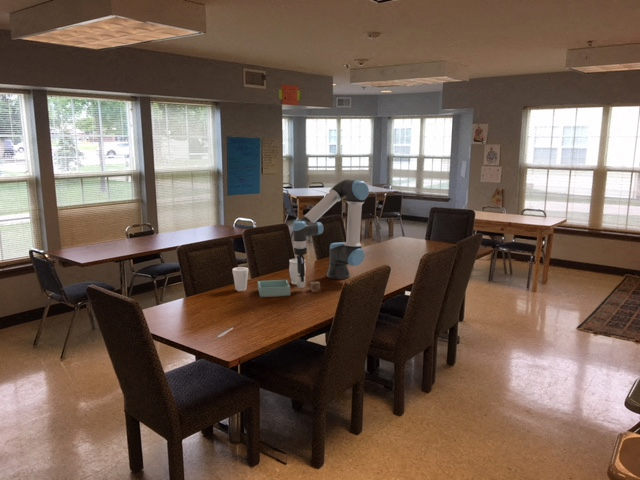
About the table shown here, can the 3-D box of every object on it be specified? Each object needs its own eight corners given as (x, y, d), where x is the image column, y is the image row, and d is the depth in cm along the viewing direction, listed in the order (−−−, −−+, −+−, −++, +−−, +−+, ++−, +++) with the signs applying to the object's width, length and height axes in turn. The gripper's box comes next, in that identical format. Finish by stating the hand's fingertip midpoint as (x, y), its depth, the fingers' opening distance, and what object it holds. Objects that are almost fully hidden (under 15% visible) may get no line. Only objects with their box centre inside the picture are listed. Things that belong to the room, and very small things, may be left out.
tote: (287, 288, 312) (286, 279, 311) (290, 295, 297) (290, 286, 296) (258, 289, 309) (257, 281, 308) (260, 297, 293) (259, 288, 292)
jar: (303, 285, 318) (303, 262, 315) (287, 284, 320) (287, 261, 317) (307, 281, 328) (307, 258, 325) (291, 280, 330) (291, 257, 327)
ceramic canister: (304, 285, 308) (304, 274, 307) (306, 288, 303) (305, 276, 302) (296, 286, 307) (296, 275, 306) (297, 288, 302) (297, 277, 301)
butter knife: (214, 336, 234) (219, 336, 233) (244, 318, 259) (249, 319, 257) (214, 337, 234) (219, 338, 233) (244, 319, 259) (249, 320, 257)
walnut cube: (318, 289, 310) (318, 281, 309) (320, 291, 305) (320, 283, 304) (310, 289, 309) (310, 281, 308) (312, 292, 304) (312, 284, 303)
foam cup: (252, 289, 310) (251, 268, 308) (241, 292, 303) (241, 271, 300) (240, 286, 316) (239, 266, 313) (230, 290, 308) (229, 269, 306)
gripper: (291, 244, 308) (293, 281, 313) (296, 251, 291) (297, 290, 296) (304, 243, 309) (305, 280, 314) (309, 250, 292) (310, 289, 297)
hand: (301, 285), depth 305 cm, fingers closed on ceramic canister, 5 cm apart
